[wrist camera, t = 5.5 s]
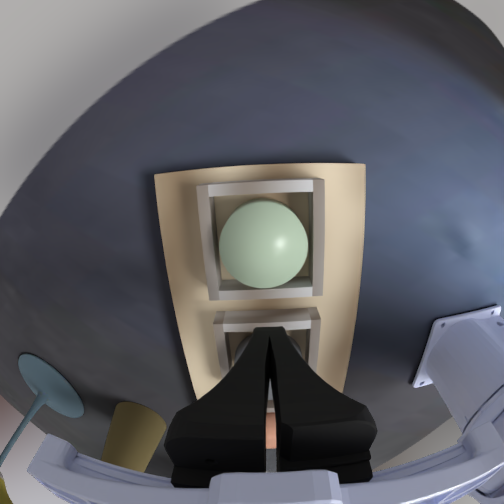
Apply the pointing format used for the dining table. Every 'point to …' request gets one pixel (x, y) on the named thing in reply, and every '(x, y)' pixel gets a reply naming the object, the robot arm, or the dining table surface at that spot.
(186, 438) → the robot arm
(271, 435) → the terracotta button
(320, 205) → the button board
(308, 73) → the dining table surface
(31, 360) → the cocktail glass
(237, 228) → the sage button
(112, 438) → the cork
